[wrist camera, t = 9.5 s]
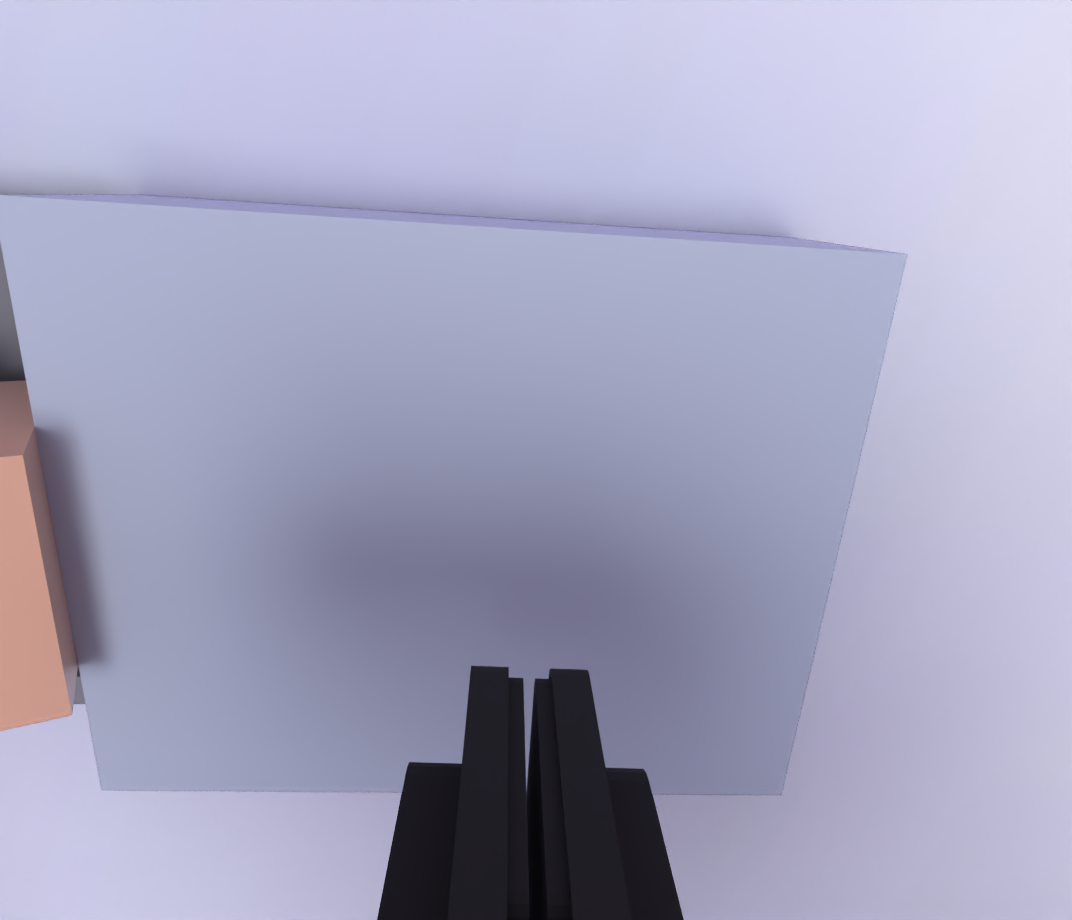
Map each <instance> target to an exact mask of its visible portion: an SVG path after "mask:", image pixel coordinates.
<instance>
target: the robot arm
mask: <svg viewBox="0 0 1072 920" xmlns="http://www.w3.org/2000/svg"><path fill="white" fill-rule="evenodd" d="M377 920H683V916H682V912H681V908H680V904H679V900H678V896H677V892H676V888H675V884H674V880H673V876H672V872H671V868H670V863H669V859H668V855H667V851H666V847H665V843H664V839H663V835H662V831H661V827H660V823H659V819H658V815H657V811H656V807H655V803H654V799H653V795H652V791H651V787H650V783H649V780H648V776H647V773H646V772H645V770H644V769H636V768H606V767H605V762H604V756H603V750H602V744H601V739H600V733H599V727H598V721H597V715H596V710H595V704H594V698H593V692H592V687H591V681H590V675H589V671H588V670H582V669H554V668H550V671H549V678H548V679H540V678H535V682H534V693H533V707H532V721H531V735H530V749H529V763H528V777H527V791H526V761H525V722H524V683H523V678H511V677H509V667H496V666H471V671H470V682H469V692H468V703H467V714H466V725H465V735H464V746H463V757H462V764H459V763H423V762H409V764H408V766H407V770H406V774H405V780H404V785H403V790H402V795H401V800H400V805H399V810H398V816H397V821H396V826H395V831H394V836H393V841H392V846H391V852H390V857H389V862H388V867H387V872H386V877H385V883H384V888H383V893H382V898H381V903H380V908H379V913H378V919H377Z"/></svg>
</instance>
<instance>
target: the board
mask: <svg viewBox="0 0 1072 920" xmlns="http://www.w3.org/2000/svg"><path fill="white" fill-rule="evenodd" d="M0 242H1V248H2V253H3V259H4V264H5V269H6V275H7V280H8V286H9V291H10V297H11V302H12V307H13V313H14V318H15V324H16V329H17V335H18V340H19V345H20V351H21V356H22V362H23V367H24V373H25V378H26V383H27V389H28V394H29V400H30V405H31V411H32V416H33V421H34V426H35V432H36V437H37V443H38V448H39V454H40V459H41V465H42V470H43V476H44V481H45V487H46V492H47V497H48V503H49V508H50V514H51V519H52V525H53V530H54V535H55V541H56V546H57V552H58V557H59V563H60V568H61V573H62V579H63V584H64V590H65V595H66V601H67V606H68V611H69V617H70V622H71V628H72V633H73V639H74V644H75V649H76V655H77V660H78V666H79V671H80V677H81V682H82V687H83V693H84V698H85V704H86V709H87V715H88V720H89V725H90V731H91V736H92V742H93V747H94V753H95V758H96V763H97V769H98V774H99V780H100V785H101V790H113V791H254V792H395V793H402V790H403V785H404V780H405V774H406V770H407V766H408V764H409V762H423V763H459V764H462V757H463V746H464V735H465V725H466V714H467V703H468V692H469V682H470V671H471V666H496V667H509V677H511V678H523V683H524V722H525V761H526V791H527V777H528V763H529V749H530V735H531V721H532V707H533V693H534V682H535V678H540V679H548V678H549V671H550V668H554V669H582V670H588V671H589V675H590V681H591V687H592V692H593V698H594V704H595V710H596V715H597V721H598V727H599V733H600V739H601V744H602V750H603V756H604V762H605V767H606V768H636V769H644V770H645V772H646V773H647V776H648V780H649V783H650V787H651V791H652V794H677V795H781V794H782V790H783V786H784V782H785V777H786V773H787V769H788V764H789V760H790V756H791V752H792V747H793V743H794V739H795V734H796V730H797V726H798V722H799V717H800V713H801V709H802V704H803V700H804V696H805V692H806V687H807V683H808V679H809V674H810V670H811V666H812V662H813V657H814V653H815V649H816V644H817V640H818V636H819V632H820V627H821V623H822V619H823V614H824V610H825V606H826V602H827V597H828V593H829V589H830V584H831V580H832V576H833V571H834V567H835V563H836V559H837V554H838V550H839V546H840V541H841V537H842V533H843V529H844V524H845V520H846V516H847V511H848V507H849V503H850V499H851V494H852V490H853V486H854V481H855V477H856V473H857V469H858V464H859V460H860V456H861V451H862V447H863V443H864V439H865V434H866V430H867V426H868V421H869V417H870V413H871V409H872V404H873V400H874V396H875V391H876V387H877V383H878V379H879V374H880V370H881V366H882V361H883V357H884V353H885V349H886V344H887V340H888V336H889V331H890V327H891V323H892V319H893V314H894V310H895V306H896V301H897V297H898V293H899V289H900V284H901V280H902V276H903V271H904V267H905V263H906V259H907V254H902V253H896V252H889V251H882V250H875V249H868V248H861V247H854V246H847V245H840V244H834V243H827V242H820V241H813V240H806V239H799V238H790V237H775V236H760V235H745V234H729V233H714V232H699V231H684V230H669V229H654V228H638V227H623V226H608V225H593V224H578V223H563V222H547V221H532V220H517V219H502V218H487V217H471V216H456V215H441V214H426V213H411V212H396V211H380V210H365V209H350V208H335V207H320V206H304V205H289V204H274V203H259V202H244V201H229V200H213V199H198V198H183V197H168V196H153V195H0Z"/></svg>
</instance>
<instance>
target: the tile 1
mask: <svg viewBox="0 0 1072 920" xmlns="http://www.w3.org/2000/svg"><path fill="white" fill-rule="evenodd" d="M77 669H78V660H77V655H76V649H75V644H74V639H73V633H72V628H71V622H70V617H69V611H68V606H67V601H66V595H65V590H64V584H63V579H62V573H61V568H60V563H59V557H58V552H57V546H56V541H55V535H54V530H53V525H52V519H51V514H50V508H49V503H48V497H47V492H46V487H45V481H44V476H43V470H42V465H41V459H40V454H39V448H38V443H37V437H36V432H35V426H34V421H33V416H32V411H31V405H30V400H29V394H28V389H27V383H26V380H25V381H2V382H0V731H3V730H7V729H12V728H16V727H21V726H25V725H30V724H34V723H39V722H43V721H48V720H52V719H57V718H61V717H66V716H70V715H72V711H73V702H74V694H75V686H76V677H77Z"/></svg>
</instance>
